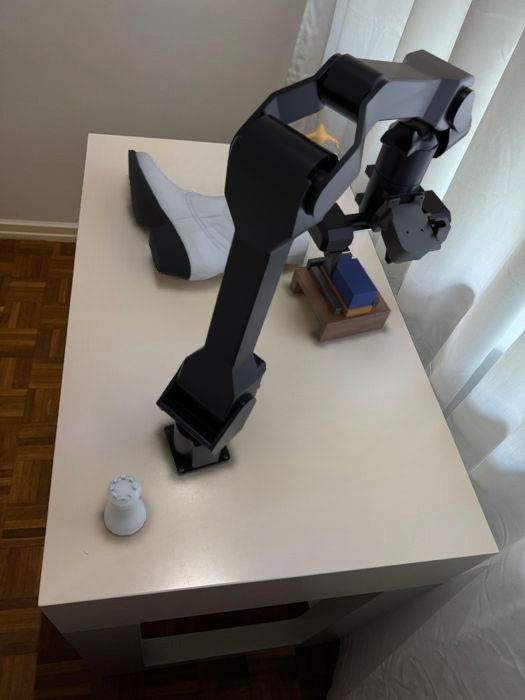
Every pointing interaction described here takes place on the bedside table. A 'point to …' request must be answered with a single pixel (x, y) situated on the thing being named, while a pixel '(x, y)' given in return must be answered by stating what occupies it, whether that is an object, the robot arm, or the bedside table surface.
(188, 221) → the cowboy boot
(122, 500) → the rook chess piece
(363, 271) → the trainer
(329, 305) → the brown piece
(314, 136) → the figurine
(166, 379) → the bedside table surface
